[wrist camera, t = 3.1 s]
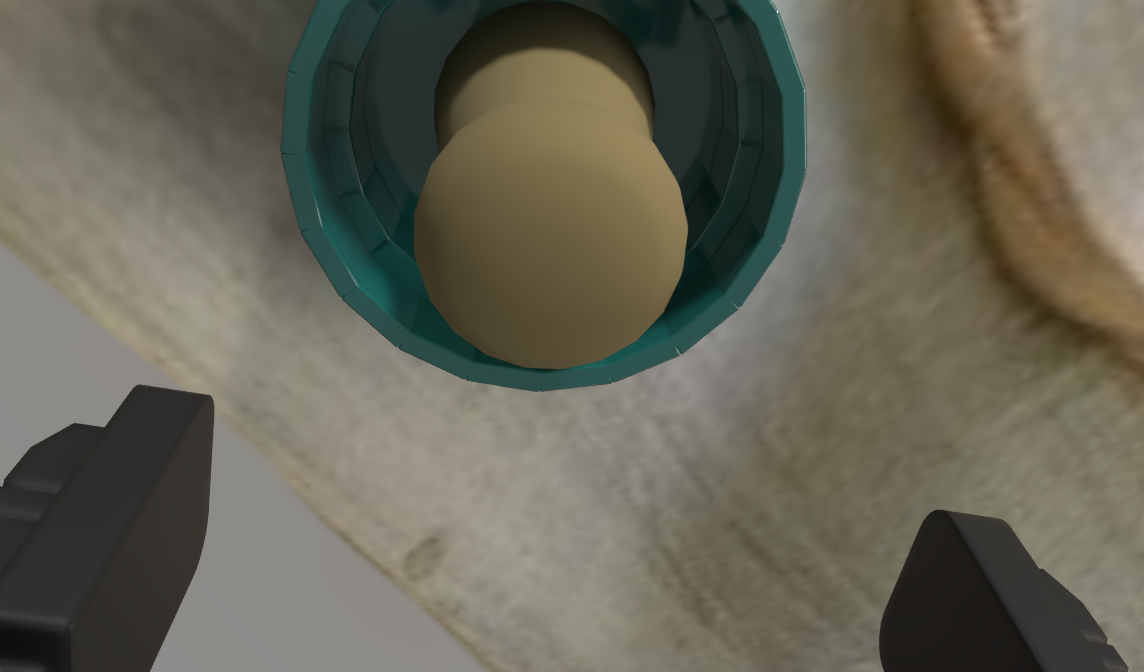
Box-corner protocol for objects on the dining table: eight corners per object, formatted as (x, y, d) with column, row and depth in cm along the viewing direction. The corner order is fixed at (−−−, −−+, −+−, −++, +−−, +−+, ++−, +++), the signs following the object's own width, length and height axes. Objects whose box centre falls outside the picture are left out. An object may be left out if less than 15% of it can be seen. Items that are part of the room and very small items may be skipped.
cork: (454, -25, 26) (409, 63, 16) (681, 29, 27) (768, 143, 17) (416, 196, 29) (356, 386, 19) (624, 239, 30) (671, 443, 20)
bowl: (301, 275, 30) (262, 349, 26) (345, -181, 25) (306, -183, 21) (701, 342, 32) (729, 423, 27) (822, -75, 26) (878, -56, 22)
